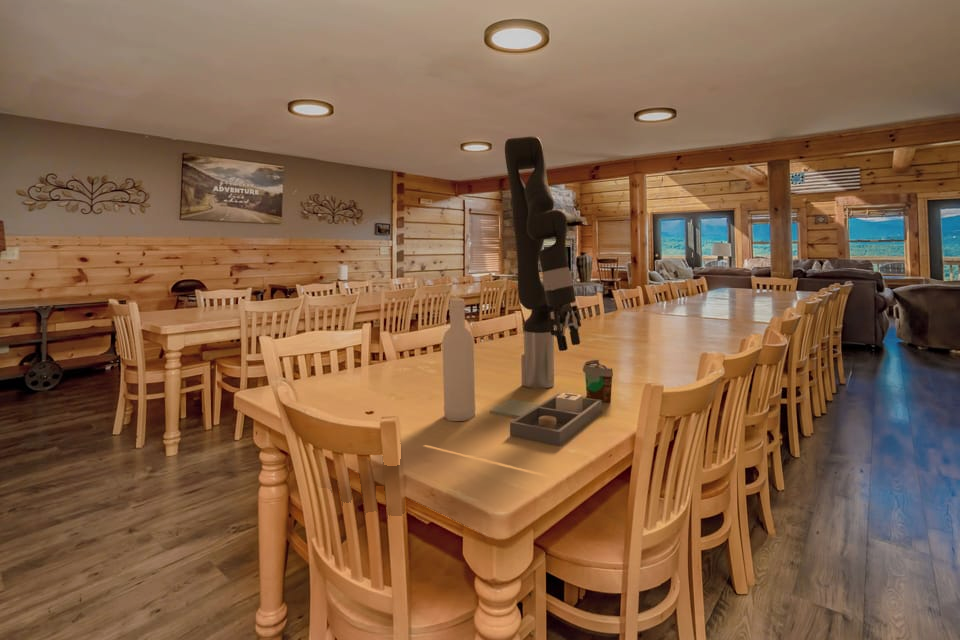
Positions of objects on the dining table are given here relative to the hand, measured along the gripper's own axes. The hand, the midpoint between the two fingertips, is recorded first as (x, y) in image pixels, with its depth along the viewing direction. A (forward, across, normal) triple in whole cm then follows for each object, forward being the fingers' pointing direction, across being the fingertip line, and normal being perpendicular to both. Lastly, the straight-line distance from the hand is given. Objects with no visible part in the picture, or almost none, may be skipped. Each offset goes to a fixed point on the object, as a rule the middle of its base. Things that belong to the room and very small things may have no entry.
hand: (570, 347), depth 129 cm
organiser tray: (+16, +15, 0) cm, 22 cm away
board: (+14, +11, -13) cm, 22 cm away
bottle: (+12, +22, -23) cm, 34 cm away
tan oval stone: (+16, +21, 0) cm, 26 cm away
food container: (+17, -9, 0) cm, 19 cm away
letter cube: (+16, +9, 0) cm, 18 cm away
